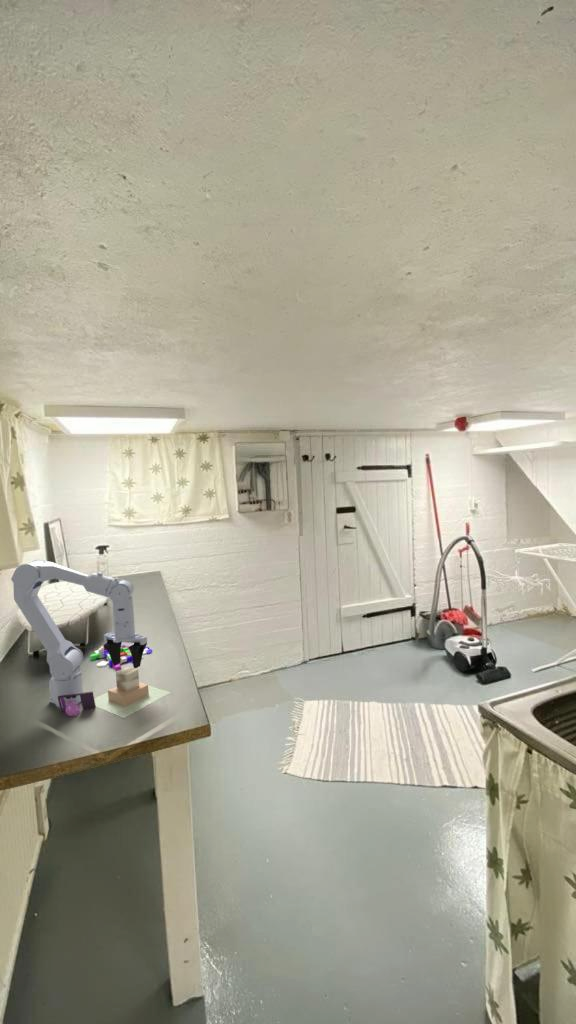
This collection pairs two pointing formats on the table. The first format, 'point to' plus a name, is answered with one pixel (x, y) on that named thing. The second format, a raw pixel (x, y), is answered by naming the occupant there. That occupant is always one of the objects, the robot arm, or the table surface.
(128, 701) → the base brick
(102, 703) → the base plate
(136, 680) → the top brick
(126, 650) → the building block set
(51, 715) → the table surface
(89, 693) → the purple and pink piece
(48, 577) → the robot arm
